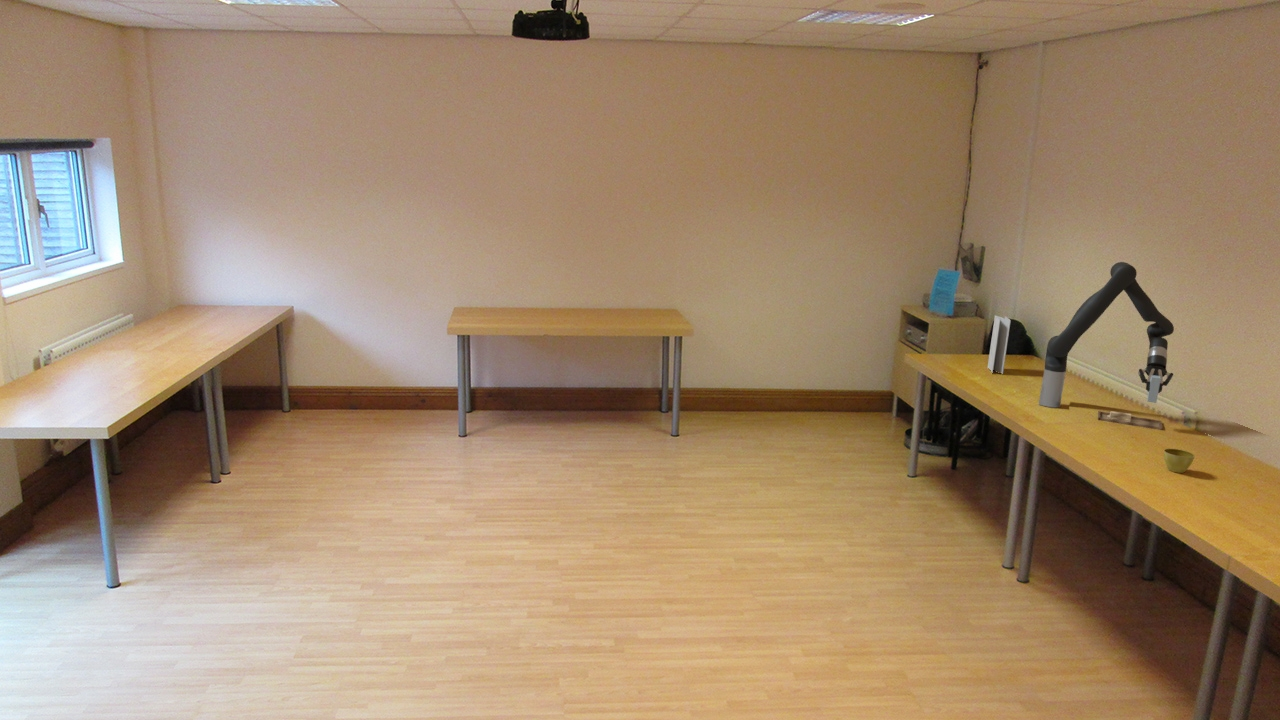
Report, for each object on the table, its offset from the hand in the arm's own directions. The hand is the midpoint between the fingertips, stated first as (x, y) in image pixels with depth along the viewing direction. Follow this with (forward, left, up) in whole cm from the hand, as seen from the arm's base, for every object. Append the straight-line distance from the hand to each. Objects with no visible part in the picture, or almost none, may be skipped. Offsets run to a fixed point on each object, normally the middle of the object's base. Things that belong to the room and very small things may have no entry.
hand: (1153, 391), depth 384 cm
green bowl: (+7, -60, -17) cm, 63 cm away
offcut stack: (-12, -3, -15) cm, 19 cm away
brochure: (-70, +75, -17) cm, 104 cm away
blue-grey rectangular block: (0, +2, -5) cm, 5 cm away
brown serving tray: (-7, +1, -17) cm, 18 cm away
